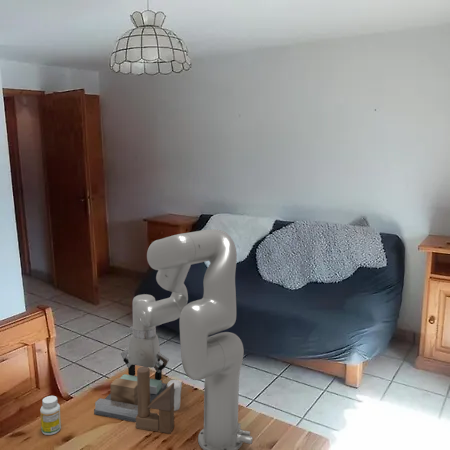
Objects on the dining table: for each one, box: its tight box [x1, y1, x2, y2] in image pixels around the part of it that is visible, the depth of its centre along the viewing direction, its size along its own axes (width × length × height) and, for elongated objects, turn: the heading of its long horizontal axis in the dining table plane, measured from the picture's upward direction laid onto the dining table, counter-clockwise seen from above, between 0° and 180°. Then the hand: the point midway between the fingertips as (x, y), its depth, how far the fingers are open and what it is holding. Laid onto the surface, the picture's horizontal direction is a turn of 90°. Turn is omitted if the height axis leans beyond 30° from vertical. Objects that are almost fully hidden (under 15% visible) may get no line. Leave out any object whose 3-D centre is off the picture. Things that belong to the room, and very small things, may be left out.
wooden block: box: [135, 366, 175, 434], centre depth 133 cm, size 4×11×18 cm, turn 78°
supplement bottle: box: [39, 395, 62, 436], centre depth 132 cm, size 5×5×10 cm
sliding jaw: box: [119, 373, 163, 394], centre depth 153 cm, size 14×5×2 cm, turn 74°
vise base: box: [93, 382, 168, 423], centre depth 148 cm, size 15×21×4 cm
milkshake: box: [166, 379, 184, 412], centre depth 144 cm, size 4×5×10 cm
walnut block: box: [109, 377, 138, 405], centre depth 144 cm, size 8×4×7 cm, turn 75°
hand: (145, 378), depth 157 cm, fingers open, 9 cm apart
